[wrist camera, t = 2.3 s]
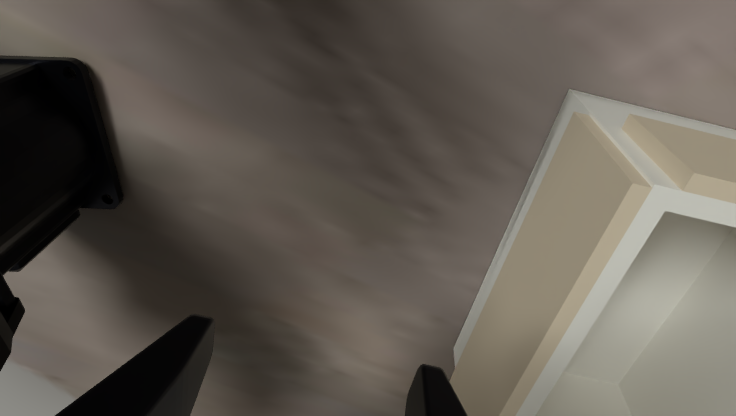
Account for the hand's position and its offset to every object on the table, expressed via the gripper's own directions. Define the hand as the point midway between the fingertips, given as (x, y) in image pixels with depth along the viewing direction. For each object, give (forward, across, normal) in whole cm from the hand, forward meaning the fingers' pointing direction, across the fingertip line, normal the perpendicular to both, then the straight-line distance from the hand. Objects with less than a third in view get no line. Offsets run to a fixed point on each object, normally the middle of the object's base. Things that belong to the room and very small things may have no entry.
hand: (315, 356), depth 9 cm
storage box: (+12, -12, +4) cm, 17 cm away
